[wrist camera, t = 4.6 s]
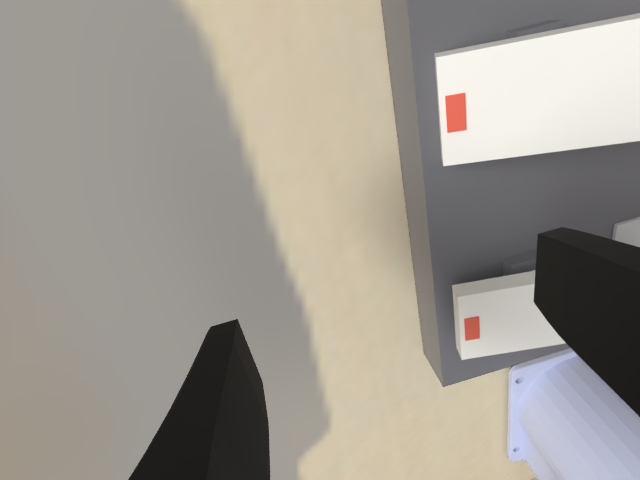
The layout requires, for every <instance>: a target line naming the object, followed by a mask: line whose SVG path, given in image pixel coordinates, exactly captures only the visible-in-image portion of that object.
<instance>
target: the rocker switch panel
mask: <svg viewBox="0 0 640 480" xmlns="http://www.w3.org/2000/svg"><path fill="white" fill-rule="evenodd" d="M381 5H382V13H383V21H384V30H385V38H386V46H387V54H388V62H389V71H390V79H391V87H392V95H393V104H394V112H395V120H396V128H397V137H398V145H399V153H400V161H401V170H402V178H403V186H404V194H405V202H406V211H407V219H408V227H409V235H410V244H411V252H412V260H413V268H414V277H415V285H416V293H417V301H418V310H419V318H420V326H421V334H422V342H423V351H424V354H425V356H426V358H427V359H428V361H429V363H430V365H431V366H432V368H433V370H434V372H435V373H436V375H437V377H438V379H439V380H440V382H441V384H442V386H443V387H445V386H448V385H452V384H455V383H458V382H461V381H464V380H468V379H471V378H474V377H477V376H481V375H484V374H487V373H490V372H494V371H497V370H500V369H503V368H506V367H510V366H513V365H516V364H519V363H523V362H526V361H529V360H532V359H535V358H539V357H542V356H545V355H548V354H552V353H555V352H558V351H561V350H565V349H568V348H570V347H569V346H568V345H567V344H559V345H553V346H547V347H540V348H534V349H528V350H521V351H515V352H509V353H503V354H496V355H490V356H484V357H477V358H471V359H465V360H461V357H460V355H459V352H458V350H457V347H456V335H455V320H454V305H453V290H452V285H456V284H462V283H467V282H473V281H479V280H484V279H490V278H496V277H501V276H507V275H513V274H519V273H524V272H530V271H533V270H536V254H537V238H538V234H539V233H543V232H546V231H550V230H553V229H557V228H560V227H565V228H569V229H574V230H578V231H583V232H587V233H590V234H594V235H598V236H601V237H605V238H609V239H612V240H616V241H619V242H623V243H626V244H630V245H633V246H637V247H640V141H635V142H627V143H620V144H612V145H604V146H597V147H589V148H581V149H573V150H566V151H558V152H550V153H542V154H535V155H527V156H519V157H511V158H504V159H496V160H488V161H481V162H473V163H465V164H457V165H450V166H443V162H442V156H441V141H440V127H439V112H438V98H437V83H436V69H435V54H434V53H438V52H443V51H449V50H454V49H459V48H464V47H469V46H474V45H479V44H484V43H489V42H494V41H500V40H505V39H510V38H515V37H520V36H525V35H530V34H535V33H540V32H546V31H551V30H556V29H561V28H566V27H571V26H576V25H581V24H586V23H592V22H597V21H602V20H607V19H612V18H617V17H622V16H627V15H632V14H638V13H640V0H381Z"/></svg>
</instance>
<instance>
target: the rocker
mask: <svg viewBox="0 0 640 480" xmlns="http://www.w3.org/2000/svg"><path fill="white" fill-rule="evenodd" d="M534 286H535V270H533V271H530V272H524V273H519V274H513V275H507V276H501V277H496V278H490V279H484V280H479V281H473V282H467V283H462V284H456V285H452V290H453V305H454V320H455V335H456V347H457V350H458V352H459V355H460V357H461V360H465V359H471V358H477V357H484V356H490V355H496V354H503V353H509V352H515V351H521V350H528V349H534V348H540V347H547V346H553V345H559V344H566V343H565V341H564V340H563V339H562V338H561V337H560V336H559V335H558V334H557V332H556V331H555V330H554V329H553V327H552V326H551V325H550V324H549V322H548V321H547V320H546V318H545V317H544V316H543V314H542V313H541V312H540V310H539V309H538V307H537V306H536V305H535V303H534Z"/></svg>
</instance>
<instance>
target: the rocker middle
mask: <svg viewBox="0 0 640 480" xmlns="http://www.w3.org/2000/svg"><path fill="white" fill-rule="evenodd" d="M434 54H435V69H436V83H437V98H438V112H439V127H440V141H441V156H442V162H443V166H450V165H457V164H465V163H473V162H481V161H488V160H496V159H504V158H511V157H519V156H527V155H535V154H542V153H550V152H558V151H566V150H573V149H581V148H589V147H597V146H604V145H612V144H620V143H627V142H635V141H640V13H638V14H632V15H627V16H622V17H617V18H612V19H607V20H602V21H597V22H592V23H586V24H581V25H576V26H571V27H566V28H561V29H556V30H551V31H546V32H540V33H535V34H530V35H525V36H520V37H515V38H510V39H505V40H500V41H494V42H489V43H484V44H479V45H474V46H469V47H464V48H459V49H454V50H449V51H443V52H438V53H434Z"/></svg>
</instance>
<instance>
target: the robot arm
mask: <svg viewBox="0 0 640 480" xmlns="http://www.w3.org/2000/svg"><path fill="white" fill-rule="evenodd" d="M534 303H535V305H536V306H537V307H538V309H539V310H540V312H541V313H542V314H543V316H544V317H545V318H546V320H547V321H548V322H549V324H550V325H551V326H552V327H553V329H554V330H555V331H556V332H557V334H558V335H559V336H560V337H561V338H562V339H563V340H564V341H565V343H566V344H567V345H568V346H569V347H570V348H568V349H565V350H562V351H559V352H556V353H552V354H549V355H546V356H543V357H539V358H536V359H533V360H530V361H527V362H523V363H520V364H517V365H514V366H513V367H512V368H511V369H510V370H509V386H508V432H507V457H508V459H509V460H510V461H511V462H517V461H520V460H523V459H524V460H525V461H526V463H527V464H528V466H529V467H530V469H531V470H532V472H533V473H534V475H535V476H536V478H537V479H538V480H640V247H637V246H633V245H630V244H626V243H623V242H619V241H616V240H612V239H609V238H605V237H601V236H598V235H594V234H590V233H587V232H583V231H578V230H574V229H569V228H565V227H560V228H557V229H553V230H550V231H546V232H543V233H539V234H538V238H537V254H536V270H535V286H534ZM129 480H270V456H269V428H268V417H267V410H266V403H265V396H264V389H263V383H262V380H261V377H260V375H259V372H258V369H257V367H256V364H255V362H254V360H253V357H252V355H251V352H250V349H249V347H248V344H247V342H246V340H245V337H244V335H243V332H242V329H241V327H240V324H239V322H238V319H236V320H233V321H229V322H226V323H222V324H219V325H216V326H212V327H211V328H210V329H209V331H208V332H207V335H206V337H205V339H204V341H203V343H202V345H201V347H200V350H199V352H198V354H197V356H196V358H195V360H194V363H193V365H192V367H191V369H190V371H189V373H188V375H187V377H186V379H185V381H184V383H183V385H182V387H181V389H180V391H179V393H178V395H177V397H176V399H175V400H174V403H173V404H172V406H171V409H170V410H169V412H168V414H167V416H166V417H165V419H164V421H163V423H162V424H161V426H160V428H159V430H158V431H157V433H156V435H155V436H154V438H153V440H152V442H151V444H150V445H149V447H148V449H147V450H146V452H145V454H144V455H143V457H142V459H141V460H140V462H139V463H138V465H137V467H136V468H135V470H134V472H133V473H132V475H131V476H130V478H129Z"/></svg>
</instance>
